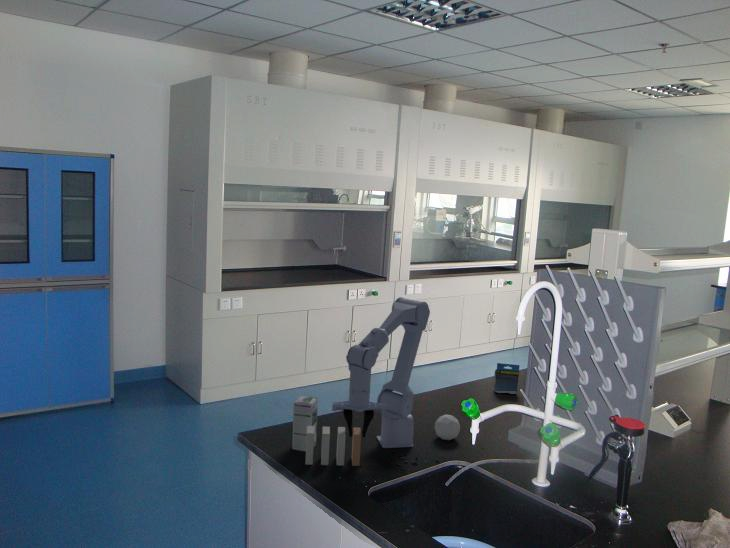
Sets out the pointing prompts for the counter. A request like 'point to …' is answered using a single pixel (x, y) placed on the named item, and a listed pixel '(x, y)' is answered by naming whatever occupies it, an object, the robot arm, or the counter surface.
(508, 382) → the label tape box
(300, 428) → the syrup box
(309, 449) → the tile
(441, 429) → the ball
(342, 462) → the tile
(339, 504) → the counter surface
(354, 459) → the tile
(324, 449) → the tile
